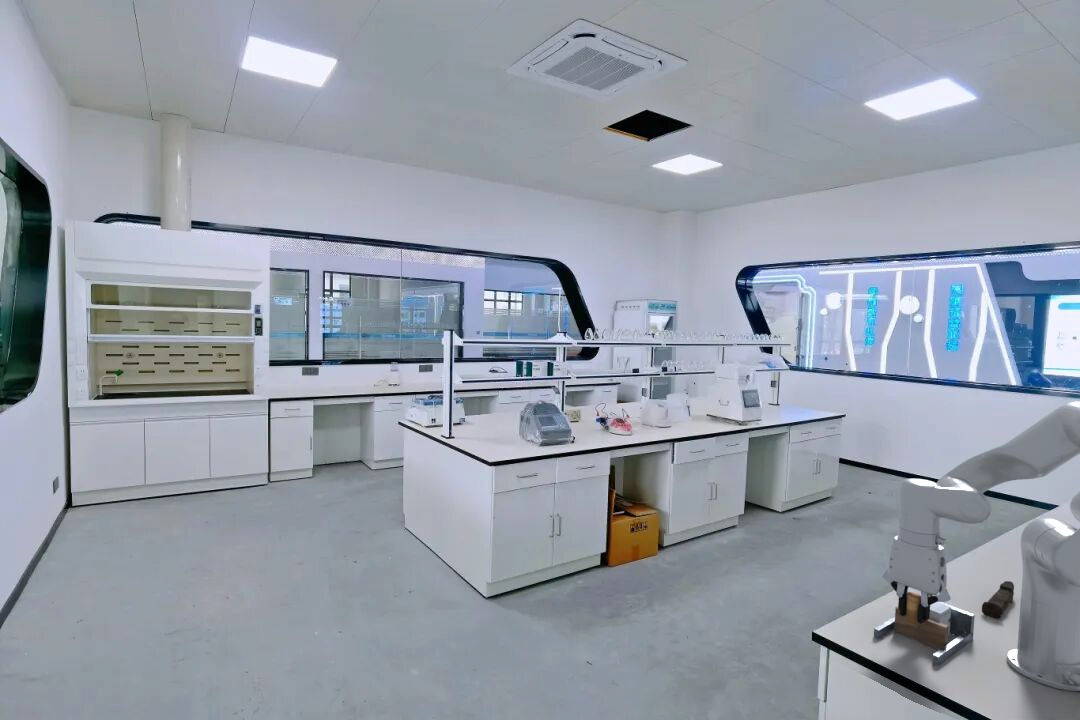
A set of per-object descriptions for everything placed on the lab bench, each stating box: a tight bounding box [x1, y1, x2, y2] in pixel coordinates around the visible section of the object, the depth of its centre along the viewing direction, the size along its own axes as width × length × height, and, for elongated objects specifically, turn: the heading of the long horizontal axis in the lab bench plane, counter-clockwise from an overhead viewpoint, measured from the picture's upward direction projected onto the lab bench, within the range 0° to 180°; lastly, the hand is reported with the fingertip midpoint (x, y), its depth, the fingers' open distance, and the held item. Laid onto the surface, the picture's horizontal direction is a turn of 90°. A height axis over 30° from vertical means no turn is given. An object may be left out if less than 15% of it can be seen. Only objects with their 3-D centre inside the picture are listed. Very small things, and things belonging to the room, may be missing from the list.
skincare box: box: [929, 602, 951, 639], centre depth 126 cm, size 6×6×7 cm
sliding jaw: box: [893, 591, 949, 651], centre depth 122 cm, size 6×10×12 cm, turn 33°
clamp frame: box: [873, 591, 976, 667], centre depth 125 cm, size 18×13×6 cm
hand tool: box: [981, 580, 1015, 620], centre depth 140 cm, size 19×4×5 cm, turn 126°
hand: (913, 616), depth 121 cm, fingers closed on sliding jaw, 2 cm apart
